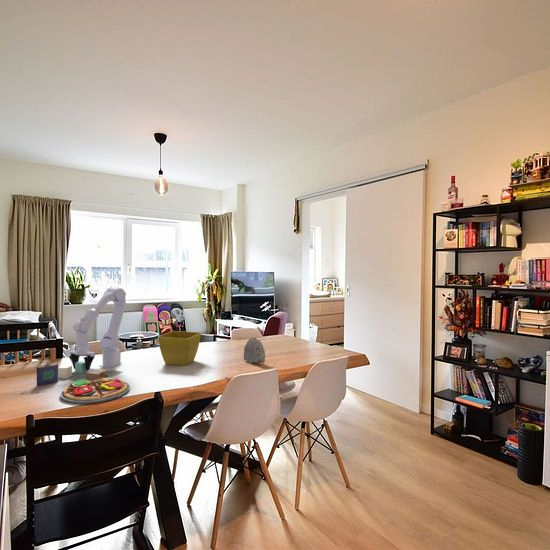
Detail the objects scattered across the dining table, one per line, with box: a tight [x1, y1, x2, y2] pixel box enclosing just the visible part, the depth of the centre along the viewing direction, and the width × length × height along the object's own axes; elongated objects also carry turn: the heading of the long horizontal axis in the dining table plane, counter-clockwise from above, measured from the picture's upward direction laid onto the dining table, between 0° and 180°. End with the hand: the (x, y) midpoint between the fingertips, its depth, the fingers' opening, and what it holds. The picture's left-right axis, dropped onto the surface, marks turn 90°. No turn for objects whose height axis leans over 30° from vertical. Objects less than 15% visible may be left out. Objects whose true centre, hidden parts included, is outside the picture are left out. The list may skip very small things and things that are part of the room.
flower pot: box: [157, 330, 202, 367], centre depth 214 cm, size 19×19×17 cm
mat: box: [58, 368, 123, 382], centre depth 186 cm, size 20×24×1 cm
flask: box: [36, 361, 59, 387], centre depth 172 cm, size 9×3×11 cm, turn 144°
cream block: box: [58, 365, 73, 378], centre depth 183 cm, size 4×4×5 cm
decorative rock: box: [243, 337, 266, 365], centre depth 216 cm, size 16×7×15 cm, turn 36°
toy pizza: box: [59, 377, 131, 404], centre depth 161 cm, size 28×28×4 cm
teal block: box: [74, 360, 89, 373], centre depth 192 cm, size 4×4×5 cm
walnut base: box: [86, 368, 109, 380], centre depth 182 cm, size 7×7×3 cm
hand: (81, 369), depth 192 cm, fingers open, 7 cm apart
